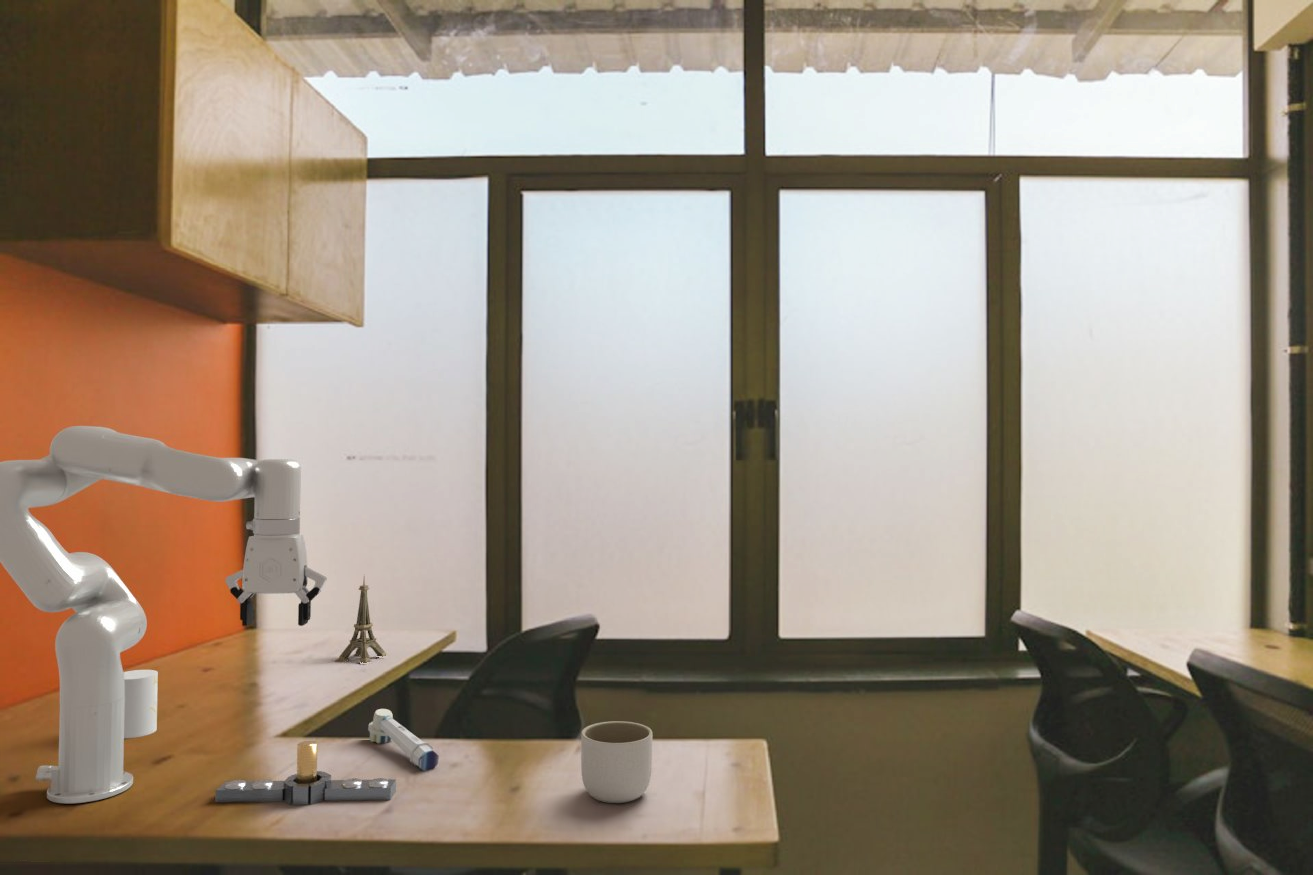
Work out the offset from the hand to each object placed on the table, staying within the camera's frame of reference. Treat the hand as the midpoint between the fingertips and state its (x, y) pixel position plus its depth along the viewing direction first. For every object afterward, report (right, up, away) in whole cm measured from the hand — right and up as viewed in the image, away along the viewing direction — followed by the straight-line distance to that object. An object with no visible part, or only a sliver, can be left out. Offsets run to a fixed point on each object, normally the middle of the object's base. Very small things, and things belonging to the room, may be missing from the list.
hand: (275, 624), depth 157 cm
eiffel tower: (-15, -30, +93) cm, 99 cm away
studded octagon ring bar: (+8, -28, -6) cm, 30 cm away
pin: (+8, -28, -6) cm, 30 cm away
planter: (+61, -29, -3) cm, 68 cm away
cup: (-41, -29, +27) cm, 57 cm away
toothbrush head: (+18, -29, +17) cm, 38 cm away
